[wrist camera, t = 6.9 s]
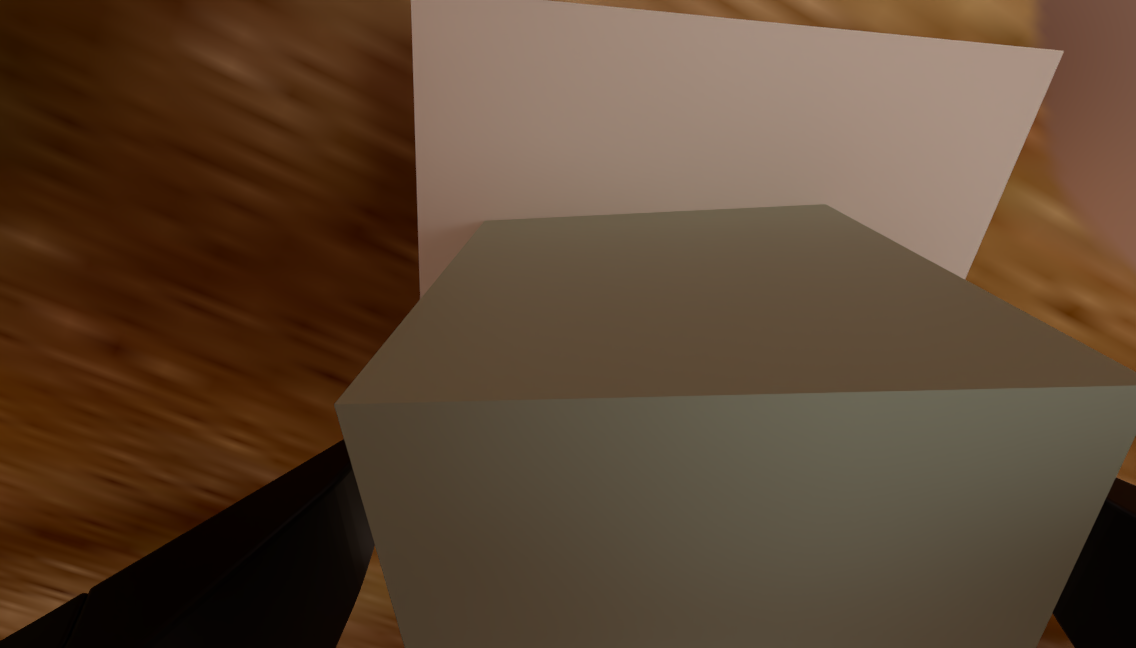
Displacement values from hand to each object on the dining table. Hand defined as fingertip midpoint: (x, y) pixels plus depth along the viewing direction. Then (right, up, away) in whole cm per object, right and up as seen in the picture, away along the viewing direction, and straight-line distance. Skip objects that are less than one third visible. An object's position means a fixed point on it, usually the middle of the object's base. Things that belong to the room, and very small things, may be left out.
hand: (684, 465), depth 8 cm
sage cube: (0, +1, +3) cm, 3 cm away
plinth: (0, +3, +6) cm, 7 cm away
